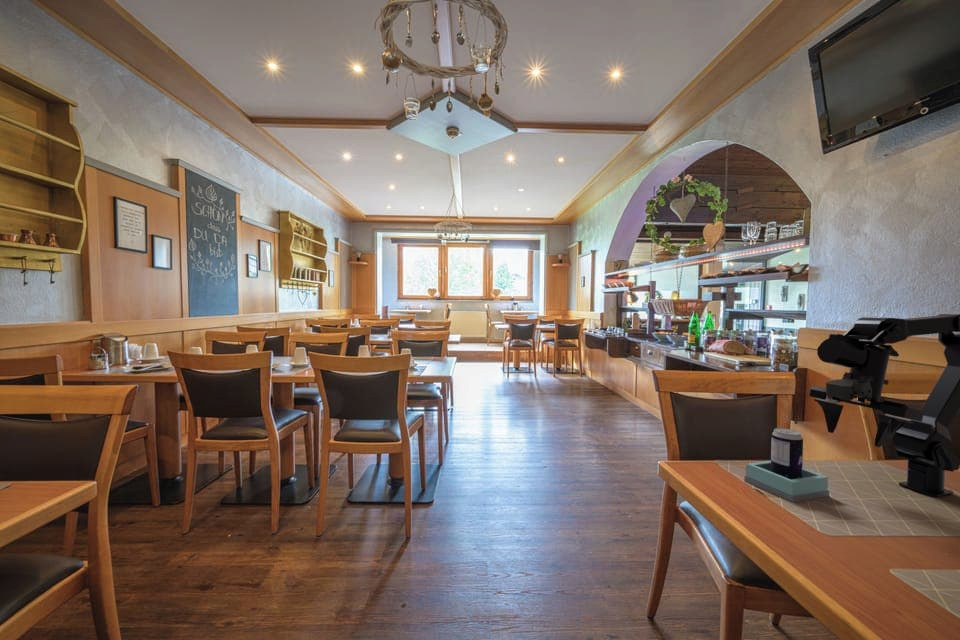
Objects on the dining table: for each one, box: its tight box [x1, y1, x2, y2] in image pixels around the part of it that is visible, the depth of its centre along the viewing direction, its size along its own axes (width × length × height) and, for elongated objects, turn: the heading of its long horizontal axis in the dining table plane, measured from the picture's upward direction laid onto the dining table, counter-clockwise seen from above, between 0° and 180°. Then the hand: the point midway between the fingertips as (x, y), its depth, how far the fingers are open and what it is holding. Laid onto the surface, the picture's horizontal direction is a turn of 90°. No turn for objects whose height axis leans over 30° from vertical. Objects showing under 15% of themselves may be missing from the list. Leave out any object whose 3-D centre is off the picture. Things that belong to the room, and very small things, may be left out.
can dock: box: [743, 460, 830, 503], centre depth 90 cm, size 11×11×4 cm
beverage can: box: [770, 427, 804, 480], centre depth 90 cm, size 6×6×12 cm
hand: (852, 439), depth 88 cm, fingers open, 9 cm apart
